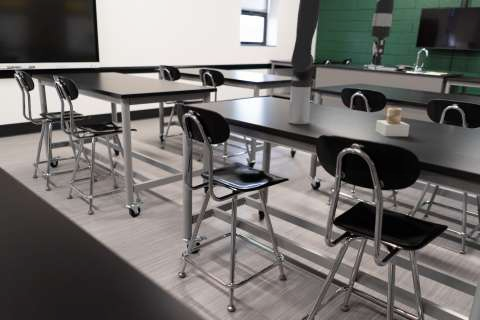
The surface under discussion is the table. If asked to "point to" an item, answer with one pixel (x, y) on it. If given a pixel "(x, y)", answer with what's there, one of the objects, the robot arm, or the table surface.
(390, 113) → the beech block
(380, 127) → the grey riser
